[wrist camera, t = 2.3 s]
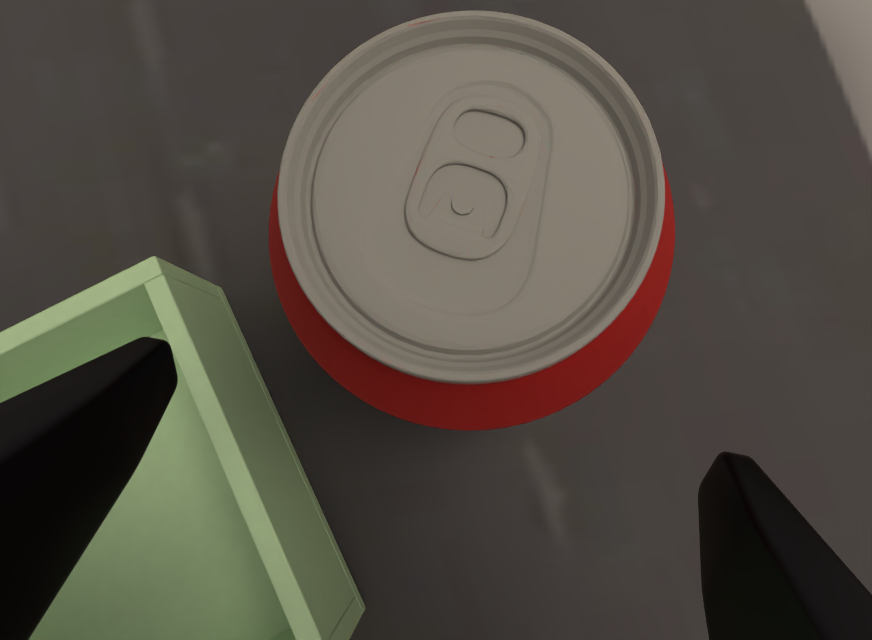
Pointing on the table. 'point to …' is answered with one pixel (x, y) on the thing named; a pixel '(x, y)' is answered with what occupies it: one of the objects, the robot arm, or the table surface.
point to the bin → (190, 481)
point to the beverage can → (471, 221)
